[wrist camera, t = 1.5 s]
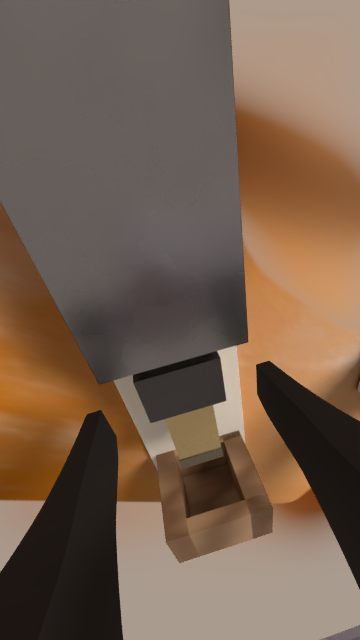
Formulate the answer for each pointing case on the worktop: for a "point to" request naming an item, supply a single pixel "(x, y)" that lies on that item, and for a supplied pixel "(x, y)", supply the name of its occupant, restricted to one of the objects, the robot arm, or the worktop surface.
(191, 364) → the plug
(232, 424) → the board
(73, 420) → the worktop surface
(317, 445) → the robot arm
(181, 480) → the socket
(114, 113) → the sleeve
